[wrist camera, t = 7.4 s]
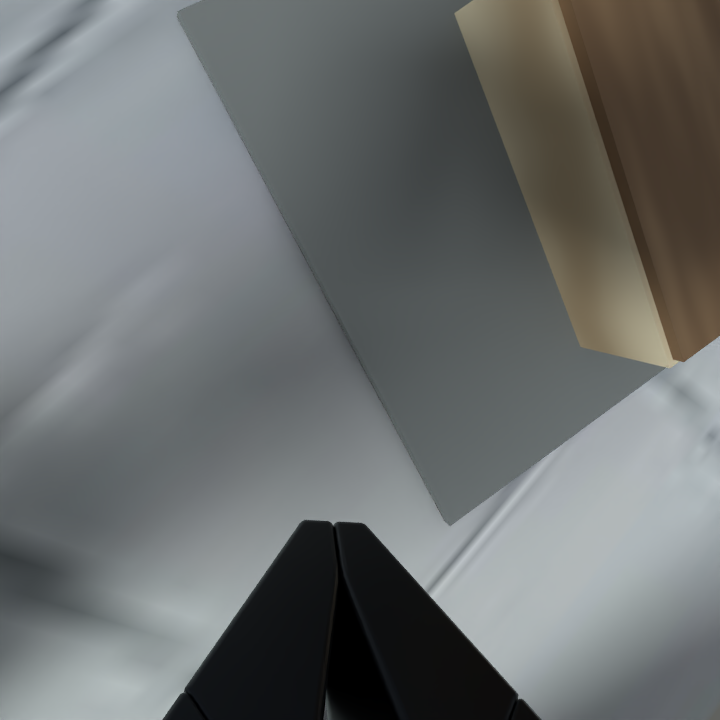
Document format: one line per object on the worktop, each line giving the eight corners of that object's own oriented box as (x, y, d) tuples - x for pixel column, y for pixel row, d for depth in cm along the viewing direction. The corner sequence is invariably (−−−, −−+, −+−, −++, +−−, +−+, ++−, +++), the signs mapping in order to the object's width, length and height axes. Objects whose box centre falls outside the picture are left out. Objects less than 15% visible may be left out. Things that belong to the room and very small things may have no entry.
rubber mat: (444, 521, 22) (450, 526, 22) (176, 16, 16) (177, 11, 16) (825, 243, 26) (834, 243, 26) (729, -234, 20) (739, -242, 20)
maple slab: (680, 370, 18) (892, 214, 20) (547, -51, 14) (828, -192, 16) (580, 346, 22) (765, 218, 24) (454, 13, 18) (689, -106, 20)
